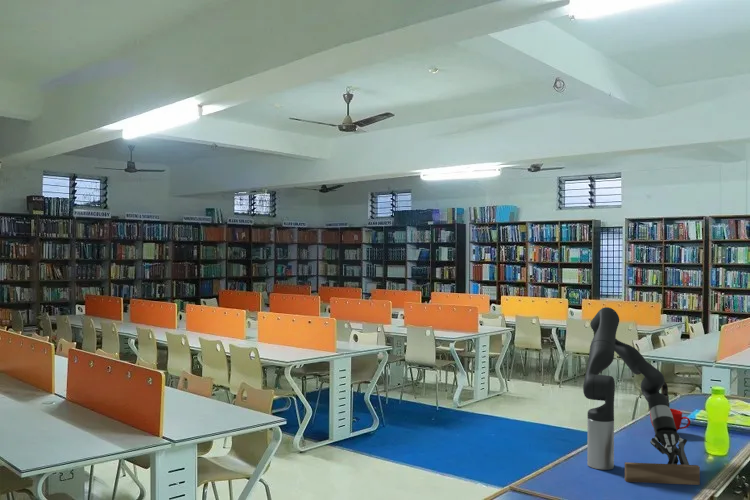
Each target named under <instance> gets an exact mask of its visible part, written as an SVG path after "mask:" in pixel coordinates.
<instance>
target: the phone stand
mask: <svg viewBox="0 0 750 500" xmlns="http://www.w3.org/2000/svg"><path fill="white" fill-rule="evenodd" d="M678 448H680V449H678ZM676 455H677V457H678V460H679V461H678V462H679V463H680V464H681V465H690V463H689V460H688V458H687V454H686V452H685V446H684V443H683V442H680V443H679V441H677V442H676V443H675V444H674V445H673V446H672V454H671V456H670V459H668V461H667V464H674V461H675V459H676Z"/></svg>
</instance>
